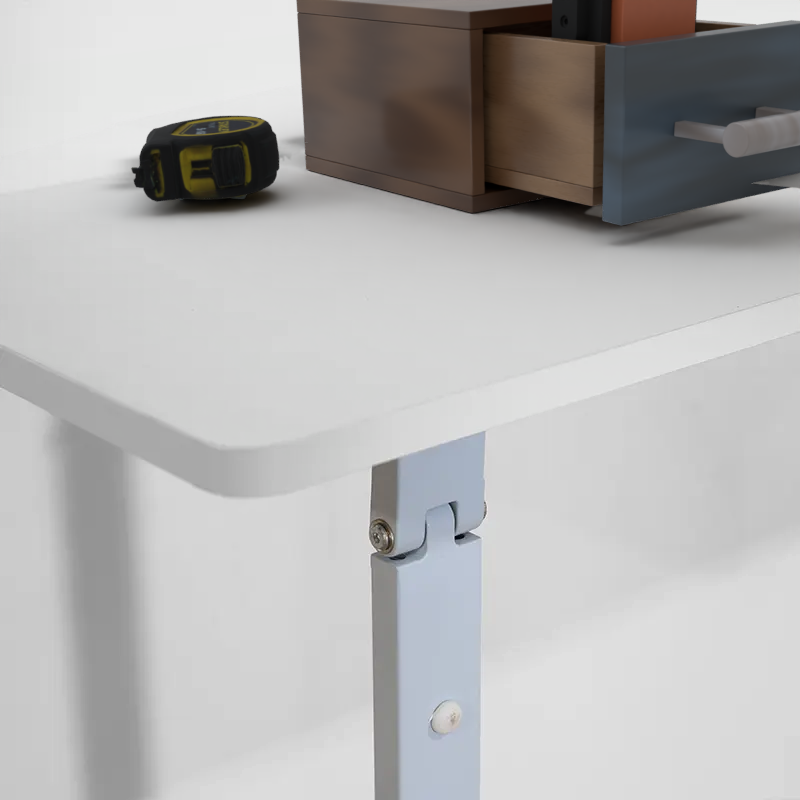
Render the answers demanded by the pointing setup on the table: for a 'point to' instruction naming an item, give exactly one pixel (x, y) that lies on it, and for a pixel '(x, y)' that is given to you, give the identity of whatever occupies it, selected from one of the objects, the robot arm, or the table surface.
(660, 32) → the block
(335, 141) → the cabinet
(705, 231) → the table surface
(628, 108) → the drawer
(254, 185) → the tape measure
